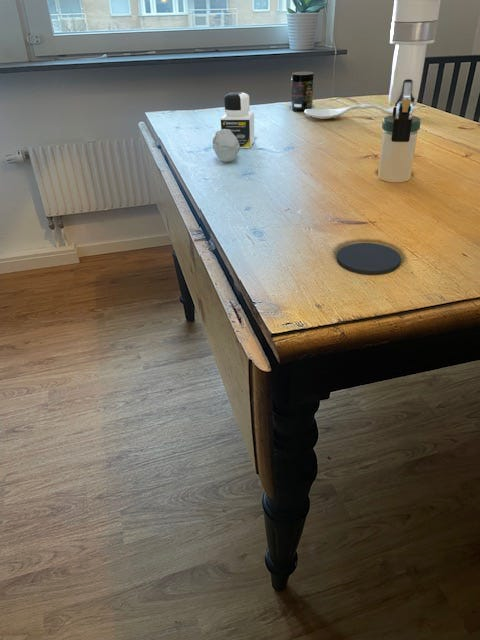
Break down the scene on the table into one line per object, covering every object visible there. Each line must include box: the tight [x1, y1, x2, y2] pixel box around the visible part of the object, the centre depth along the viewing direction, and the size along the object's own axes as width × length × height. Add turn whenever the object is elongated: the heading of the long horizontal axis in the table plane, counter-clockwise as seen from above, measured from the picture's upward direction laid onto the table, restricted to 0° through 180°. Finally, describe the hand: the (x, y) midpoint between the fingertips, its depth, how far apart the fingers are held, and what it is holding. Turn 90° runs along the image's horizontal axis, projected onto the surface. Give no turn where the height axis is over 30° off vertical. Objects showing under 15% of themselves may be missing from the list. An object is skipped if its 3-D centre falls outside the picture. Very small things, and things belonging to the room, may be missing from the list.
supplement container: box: [290, 71, 315, 113], centre depth 155 cm, size 7×7×10 cm
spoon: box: [304, 103, 421, 120], centre depth 145 cm, size 9×32×4 cm, turn 89°
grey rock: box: [212, 128, 240, 163], centre depth 113 cm, size 6×7×7 cm
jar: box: [377, 129, 419, 183], centre depth 99 cm, size 6×6×10 cm
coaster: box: [336, 242, 402, 276], centre depth 72 cm, size 9×9×1 cm
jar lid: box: [381, 114, 422, 132], centre depth 96 cm, size 7×7×2 cm
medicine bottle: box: [220, 91, 255, 149], centre depth 123 cm, size 7×7×12 cm
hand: (399, 134), depth 97 cm, fingers open, 9 cm apart
